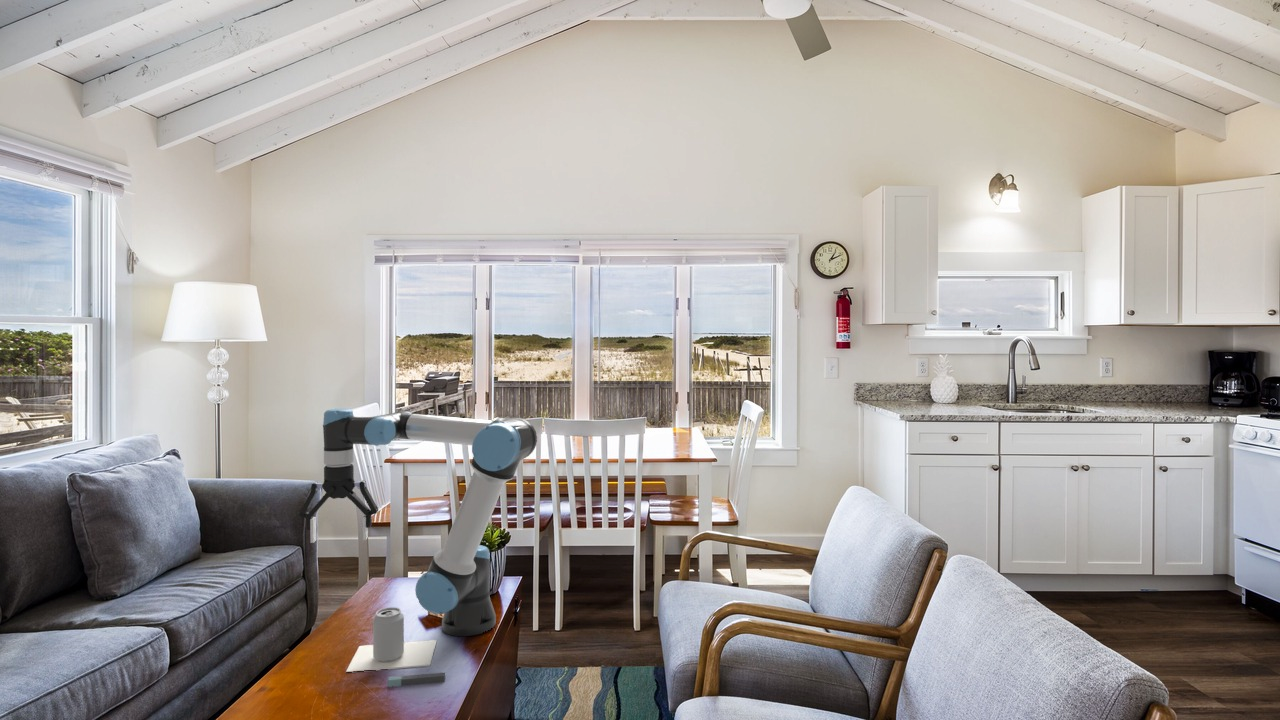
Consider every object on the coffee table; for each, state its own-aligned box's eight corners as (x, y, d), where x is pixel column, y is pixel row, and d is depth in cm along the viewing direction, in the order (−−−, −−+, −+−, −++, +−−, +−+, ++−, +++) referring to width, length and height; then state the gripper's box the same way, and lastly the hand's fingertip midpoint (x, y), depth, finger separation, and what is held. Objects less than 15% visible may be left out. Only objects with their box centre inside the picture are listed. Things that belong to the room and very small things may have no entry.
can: (394, 647, 177) (393, 603, 176) (409, 656, 172) (409, 610, 172) (367, 657, 171) (367, 611, 171) (382, 666, 166) (382, 619, 166)
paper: (436, 641, 181) (436, 639, 181) (429, 666, 167) (429, 664, 167) (359, 647, 178) (359, 645, 178) (346, 673, 164) (346, 671, 164)
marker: (445, 678, 161) (445, 671, 161) (444, 682, 160) (444, 675, 159) (389, 683, 159) (389, 676, 159) (387, 687, 157) (387, 680, 157)
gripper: (388, 460, 190) (389, 534, 190) (295, 463, 185) (295, 538, 186) (383, 465, 182) (383, 541, 183) (285, 468, 178) (286, 546, 179)
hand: (339, 540), depth 184 cm, fingers open, 13 cm apart
